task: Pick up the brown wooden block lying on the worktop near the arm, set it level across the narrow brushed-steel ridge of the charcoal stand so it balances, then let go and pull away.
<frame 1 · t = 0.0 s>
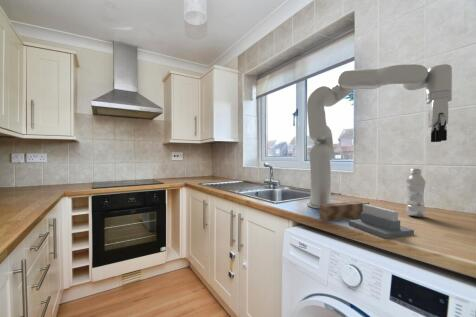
hand: (438, 141, 89), 31 cm above the worktop, tool pointing down, fingers open, 9 cm apart
ridge stand: (379, 229, 79), on the worktop
brown wooden block: (345, 217, 94), on the worktop
plastic bottle: (415, 216, 95), on the worktop
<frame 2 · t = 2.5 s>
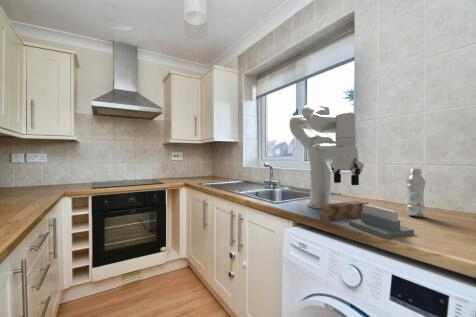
hand: (345, 183, 93), 14 cm above the worktop, tool pointing down, fingers open, 9 cm apart
nothing on the worktop moved.
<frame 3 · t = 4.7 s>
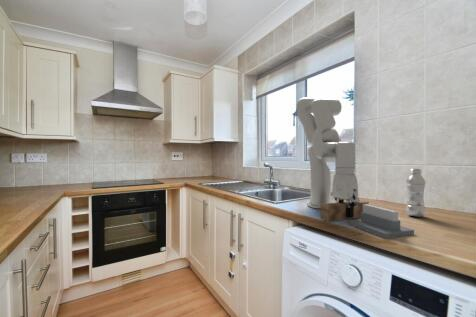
hand: (345, 215, 94), 1 cm above the worktop, tool pointing down, fingers closed on brown wooden block, 4 cm apart
brown wooden block: (345, 217, 94), on the worktop, touching gripper
everything else where it was.
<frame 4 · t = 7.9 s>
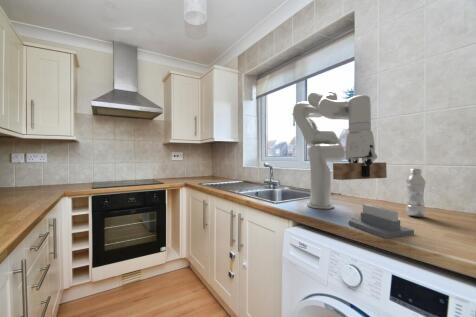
hand: (360, 175, 86), 18 cm above the worktop, tool pointing down, fingers closed on brown wooden block, 4 cm apart
brown wooden block: (360, 178, 86), point 17 cm above the worktop, touching gripper
everything else where it was.
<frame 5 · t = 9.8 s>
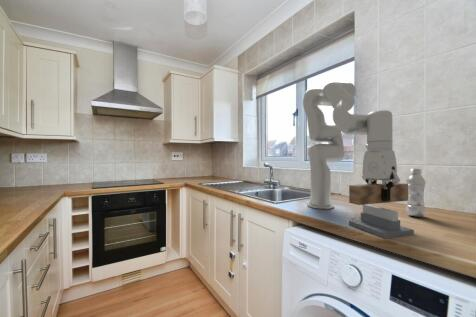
hand: (379, 198, 78), 11 cm above the worktop, tool pointing down, fingers closed on brown wooden block, 4 cm apart
brown wooden block: (379, 201, 78), point 10 cm above the worktop, touching gripper
everything else where it was.
when the fingers open (9 cm above the worktop, at t = 11.3 s): brown wooden block stays where it is, resting on ridge stand.
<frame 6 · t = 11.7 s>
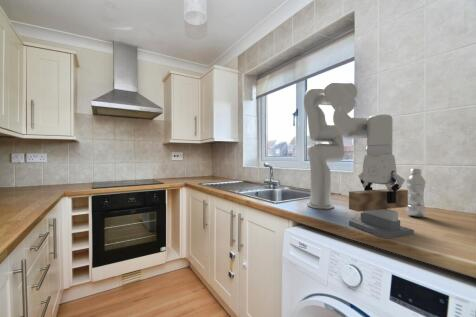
hand: (379, 200, 79), 10 cm above the worktop, tool pointing down, fingers open, 8 cm apart
brown wooden block: (378, 207, 79), point 7 cm above the worktop, touching ridge stand
everything else where it was.
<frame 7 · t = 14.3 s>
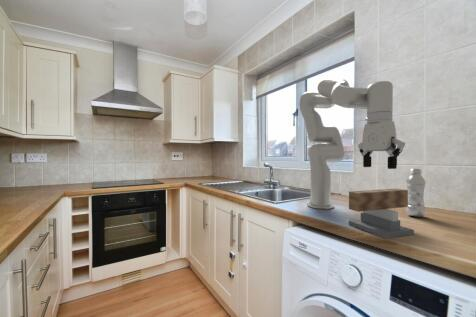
hand: (378, 167, 79), 21 cm above the worktop, tool pointing down, fingers open, 9 cm apart
nothing on the worktop moved.
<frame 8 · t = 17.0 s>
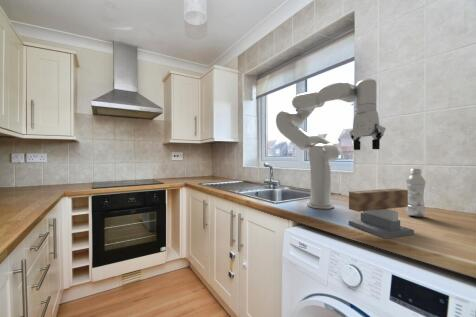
hand: (366, 149, 97), 28 cm above the worktop, tool pointing down, fingers open, 9 cm apart
nothing on the worktop moved.
at the end: brown wooden block 0.2 cm off-centre on the ridge stand, point 7.5 cm above the ridge stand's base; brown wooden block tilted 0°; brown wooden block touching ridge stand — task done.
